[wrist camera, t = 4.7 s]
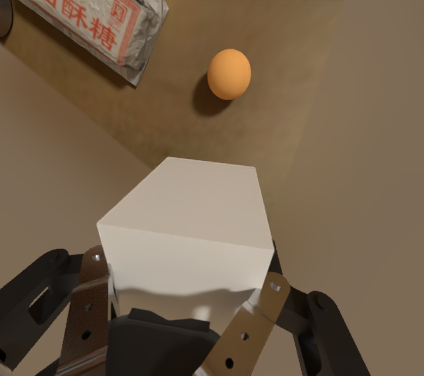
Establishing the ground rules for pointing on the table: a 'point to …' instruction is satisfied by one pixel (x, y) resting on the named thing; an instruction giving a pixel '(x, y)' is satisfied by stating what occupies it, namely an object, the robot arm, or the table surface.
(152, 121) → the table surface
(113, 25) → the packaged product
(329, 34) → the table surface
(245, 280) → the white foam cube
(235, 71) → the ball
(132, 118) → the table surface
